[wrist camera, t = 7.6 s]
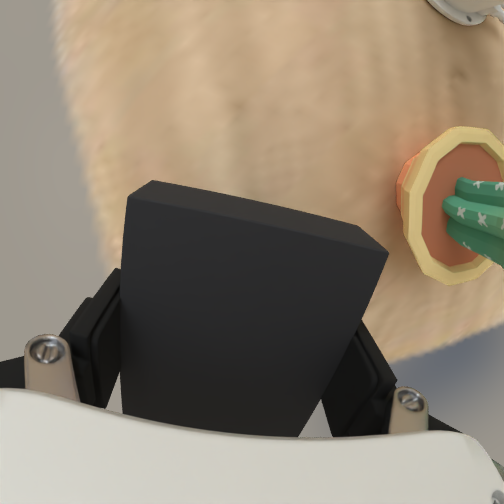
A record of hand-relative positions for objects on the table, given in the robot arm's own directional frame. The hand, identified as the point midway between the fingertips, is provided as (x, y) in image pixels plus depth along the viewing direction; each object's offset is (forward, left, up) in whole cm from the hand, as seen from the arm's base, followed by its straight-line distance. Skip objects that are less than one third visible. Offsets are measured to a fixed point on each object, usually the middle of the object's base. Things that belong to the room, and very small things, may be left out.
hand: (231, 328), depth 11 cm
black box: (0, 0, -1) cm, 1 cm away
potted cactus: (-21, -6, -20) cm, 29 cm away
